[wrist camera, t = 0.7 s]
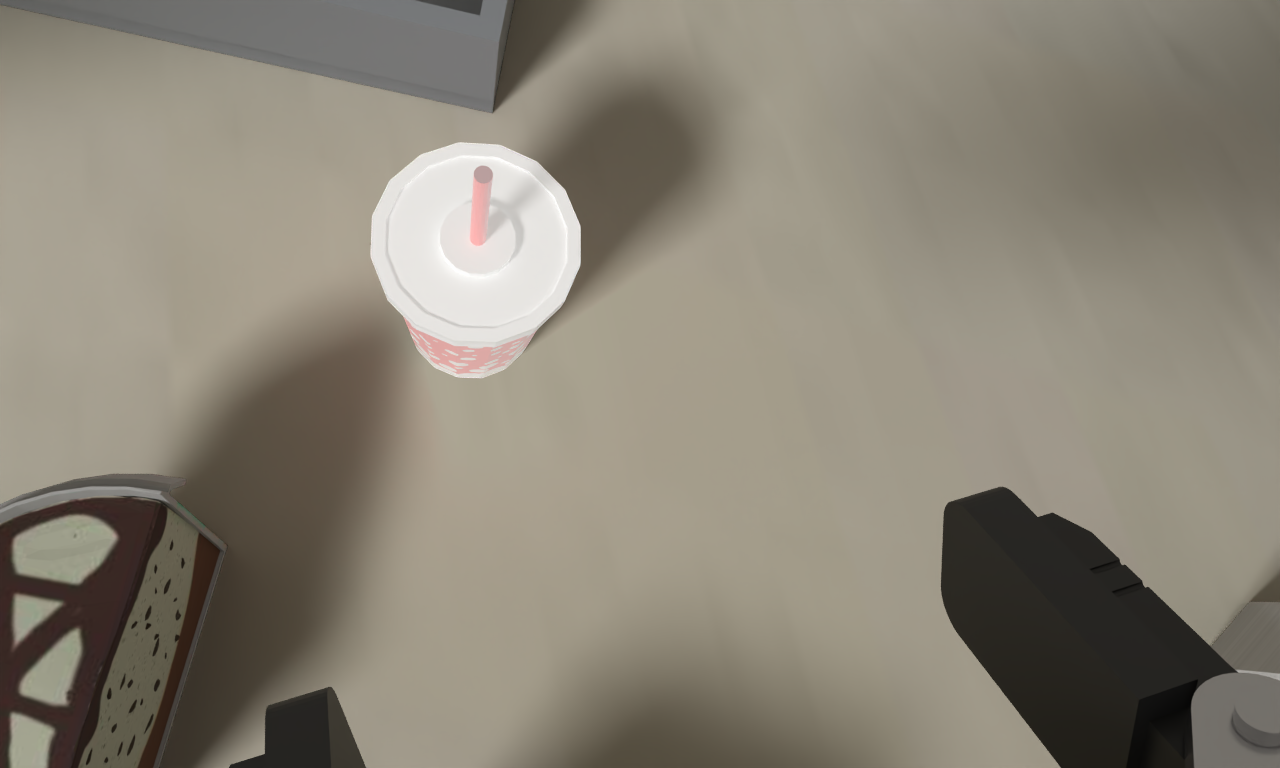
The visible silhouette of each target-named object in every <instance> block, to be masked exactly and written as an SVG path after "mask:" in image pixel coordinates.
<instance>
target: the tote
mask: <svg viewBox="0 0 1280 768" xmlns="http://www.w3.org/2000/svg"><path fill="white" fill-rule="evenodd" d="M514 2H515V0H0V4H1V5H5V6H10V7H14V8H19V9H23V10H28V11H32V12H37V13H41V14H46V15H50V16H55V17H59V18H64V19H69V20H73V21H78V22H82V23H87V24H91V25H96V26H100V27H105V28H109V29H114V30H118V31H123V32H127V33H132V34H136V35H141V36H145V37H150V38H155V39H159V40H164V41H168V42H173V43H177V44H182V45H186V46H191V47H195V48H200V49H204V50H209V51H213V52H218V53H222V54H227V55H232V56H236V57H241V58H245V59H250V60H254V61H259V62H263V63H268V64H272V65H277V66H281V67H286V68H290V69H295V70H299V71H304V72H308V73H313V74H318V75H322V76H327V77H331V78H336V79H340V80H345V81H349V82H354V83H358V84H363V85H367V86H372V87H376V88H381V89H385V90H390V91H395V92H399V93H404V94H408V95H413V96H417V97H422V98H426V99H431V100H435V101H440V102H444V103H449V104H453V105H458V106H462V107H467V108H472V109H476V110H481V111H485V112H490V113H492V112H493V107H494V102H495V97H496V92H497V87H498V82H499V77H500V72H501V67H502V62H503V57H504V52H505V47H506V42H507V37H508V32H509V27H510V22H511V17H512V12H513V7H514Z"/></svg>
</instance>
